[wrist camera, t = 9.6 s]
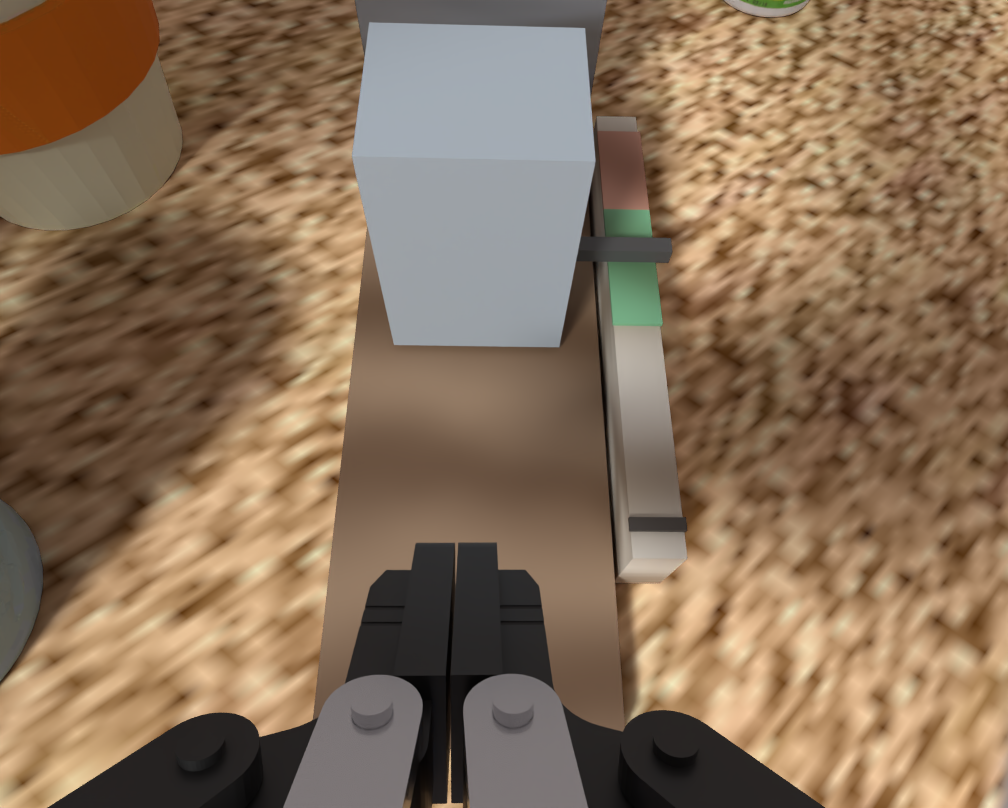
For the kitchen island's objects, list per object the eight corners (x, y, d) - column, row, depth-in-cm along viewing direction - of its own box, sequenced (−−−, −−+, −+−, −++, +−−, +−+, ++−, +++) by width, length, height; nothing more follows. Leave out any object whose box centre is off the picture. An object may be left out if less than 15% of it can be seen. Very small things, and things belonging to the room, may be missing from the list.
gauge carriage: (660, 348, 25) (743, 164, 17) (393, 344, 25) (352, 156, 17) (640, 181, 29) (702, -37, 21) (407, 176, 29) (378, -47, 21)
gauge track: (677, 748, 21) (863, 755, 11) (320, 748, 21) (162, 756, 11) (613, 101, 33) (672, -185, 23) (388, 96, 33) (346, -196, 23)
